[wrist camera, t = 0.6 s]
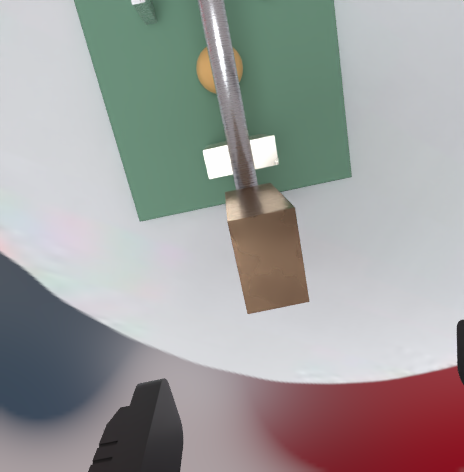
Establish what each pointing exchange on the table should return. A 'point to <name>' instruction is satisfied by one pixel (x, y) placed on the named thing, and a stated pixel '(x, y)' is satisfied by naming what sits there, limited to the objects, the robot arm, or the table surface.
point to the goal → (145, 10)
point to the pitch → (206, 103)
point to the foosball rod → (251, 186)
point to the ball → (206, 72)
